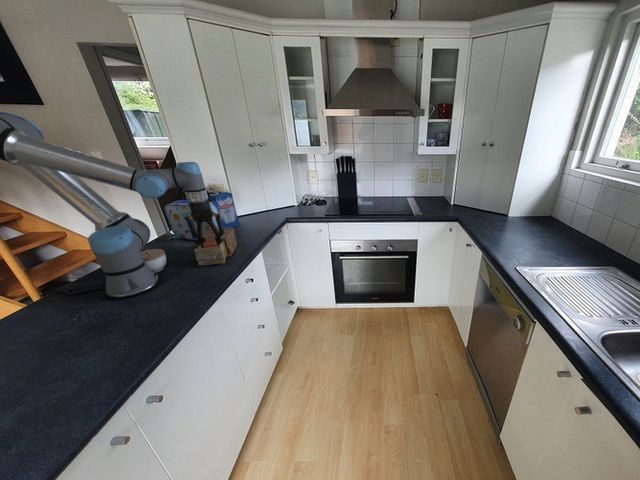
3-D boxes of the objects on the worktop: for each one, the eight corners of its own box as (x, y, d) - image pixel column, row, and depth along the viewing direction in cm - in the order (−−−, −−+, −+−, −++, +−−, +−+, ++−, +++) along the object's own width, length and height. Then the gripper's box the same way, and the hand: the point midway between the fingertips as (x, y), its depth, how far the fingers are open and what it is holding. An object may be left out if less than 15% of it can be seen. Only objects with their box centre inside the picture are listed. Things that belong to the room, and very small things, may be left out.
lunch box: (231, 235, 155) (221, 197, 145) (220, 242, 145) (208, 202, 136) (185, 233, 157) (173, 195, 147) (171, 240, 147) (157, 200, 138)
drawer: (222, 268, 119) (217, 252, 115) (195, 271, 116) (189, 254, 113) (231, 250, 135) (227, 236, 131) (208, 253, 132) (203, 238, 129)
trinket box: (153, 277, 113) (145, 257, 109) (132, 274, 115) (123, 254, 111) (176, 265, 122) (169, 246, 118) (156, 263, 124) (148, 244, 120)
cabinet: (231, 256, 131) (226, 237, 127) (204, 258, 128) (198, 240, 124) (237, 244, 144) (233, 227, 140) (213, 246, 141) (207, 229, 137)
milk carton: (223, 229, 163) (215, 196, 155) (218, 227, 166) (209, 195, 157) (239, 224, 171) (231, 193, 162) (233, 223, 174) (225, 191, 165)
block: (205, 253, 122) (202, 243, 120) (209, 249, 126) (206, 239, 124) (218, 252, 123) (215, 242, 121) (220, 248, 128) (218, 238, 125)
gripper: (170, 204, 109) (188, 256, 119) (219, 201, 113) (233, 251, 124) (177, 199, 116) (194, 249, 126) (224, 197, 120) (236, 245, 130)
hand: (213, 250), depth 125 cm, fingers closed on block, 5 cm apart
